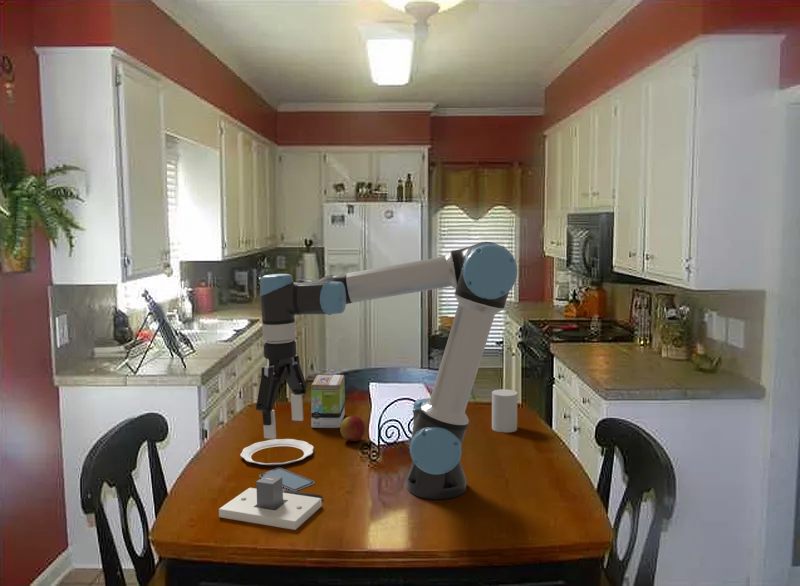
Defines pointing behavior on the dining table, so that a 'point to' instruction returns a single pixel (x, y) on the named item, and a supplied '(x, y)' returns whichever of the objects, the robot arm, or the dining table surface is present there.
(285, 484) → the smartphone
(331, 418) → the tea box
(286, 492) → the cable
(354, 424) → the apple
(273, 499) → the block
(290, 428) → the dining table surface
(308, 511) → the outlet plate
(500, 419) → the white cylinder
